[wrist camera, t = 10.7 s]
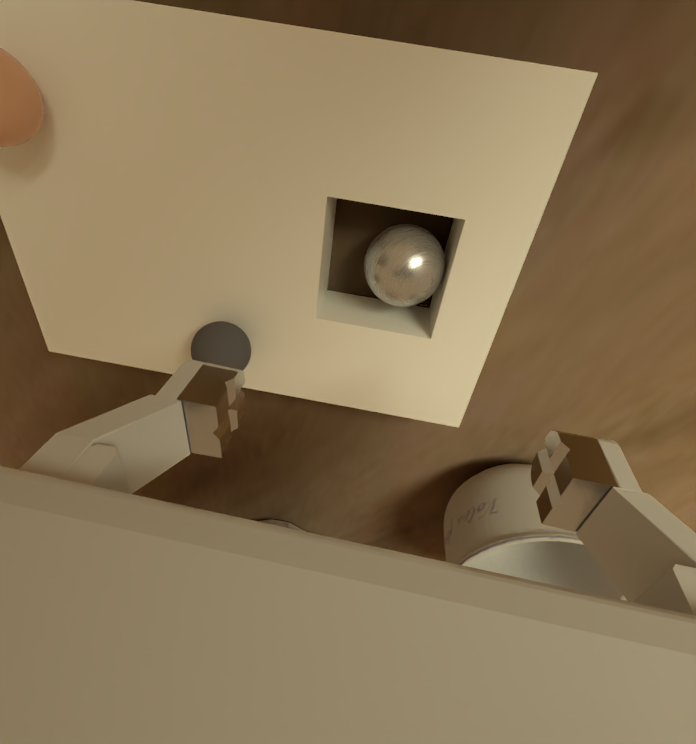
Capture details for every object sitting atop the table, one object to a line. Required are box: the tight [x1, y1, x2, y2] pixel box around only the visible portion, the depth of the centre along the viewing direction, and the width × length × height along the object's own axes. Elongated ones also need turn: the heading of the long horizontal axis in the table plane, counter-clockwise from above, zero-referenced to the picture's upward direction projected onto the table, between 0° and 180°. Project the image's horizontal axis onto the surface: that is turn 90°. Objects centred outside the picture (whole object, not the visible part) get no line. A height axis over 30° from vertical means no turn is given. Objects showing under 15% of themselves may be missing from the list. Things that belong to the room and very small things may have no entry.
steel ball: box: [364, 224, 445, 307], centre depth 21 cm, size 4×4×4 cm
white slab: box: [0, 0, 598, 427], centre depth 21 cm, size 25×17×4 cm
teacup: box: [444, 464, 626, 600], centre depth 30 cm, size 14×11×8 cm
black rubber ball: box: [191, 321, 251, 371], centre depth 22 cm, size 3×3×3 cm
